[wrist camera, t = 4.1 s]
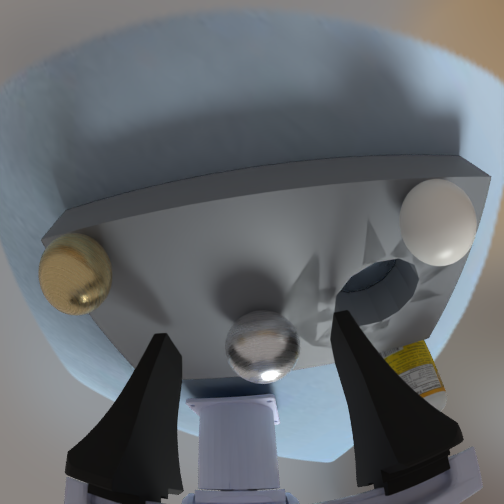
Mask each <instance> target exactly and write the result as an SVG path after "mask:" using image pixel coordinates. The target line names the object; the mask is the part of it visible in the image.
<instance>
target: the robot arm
mask: <svg viewBox="0 0 504 504" xmlns="http://www.w3.org/2000/svg"><path fill="white" fill-rule="evenodd" d="M330 341H331V346H332V352H333V357H334V361H335V364H336V368H337V371H338V374H339V377H340V381H341V384H342V387H343V391H344V394H345V397H346V401H347V405H348V409H349V414H350V420H351V426H352V433H353V441H354V449H355V460H356V477H357V479H356V480H357V486H358V487H362V486H369V485H372V484H374V489H373V490H370V491H367V492H363V493H360V494H356V495H352V496H348V497H344V498H340V499H335V500H330V501H325V502H320V503H314V504H459V503H461V502H462V501H464V500H465V499H467V498H468V497H470V496H471V495H473V494H474V493H476V492H477V491H479V490H480V489H481V488H482V487H483V484H482V479H481V474H480V469H479V465H478V460H477V456H476V452H475V448H474V447H473V446H472V447H470V448H468V449H466V450H464V451H462V452H460V453H458V454H455V455H453V456H450V457H448V455H450V451H449V449H450V448H452V447H454V446H456V445H458V444H460V443H461V442H462V441H463V440H464V439H463V436H462V432H461V429H460V427H459V425H458V423H457V422H456V421H454V420H452V419H451V418H449V417H448V416H446V415H445V414H443V413H442V412H440V411H439V410H438V409H436V408H435V407H434V406H432V405H431V404H430V403H429V402H427V401H426V400H425V399H424V398H423V397H421V396H420V395H419V394H418V393H417V392H415V391H414V390H413V389H412V388H411V387H410V386H409V385H408V384H407V383H406V382H405V381H404V380H403V379H402V378H401V377H400V376H399V375H398V374H397V373H396V372H395V371H394V370H393V369H392V368H391V366H390V365H389V364H388V363H387V362H386V361H385V360H384V358H383V357H382V356H381V355H380V353H379V352H378V351H377V350H376V348H375V347H374V346H373V345H372V343H371V342H370V341H369V339H368V338H367V337H366V335H365V334H364V332H363V331H362V330H361V328H360V327H359V325H358V324H357V322H356V321H355V319H354V318H353V316H352V315H351V313H350V311H348V310H344V311H339V312H334V313H333V321H332V329H331V336H330ZM181 384H182V355H181V354H180V352H179V351H178V349H177V348H176V346H175V345H174V343H173V342H172V340H171V339H170V337H169V336H168V334H167V333H156V334H154V335H153V337H152V339H151V341H150V342H149V344H148V346H147V348H146V350H145V352H144V354H143V356H142V357H141V359H140V361H139V363H138V365H137V367H136V368H135V370H134V372H133V374H132V376H131V377H130V379H129V381H128V382H127V384H126V385H125V387H124V389H123V390H122V392H121V394H120V395H119V397H118V398H117V399H116V401H115V402H114V404H113V405H112V407H111V408H110V409H109V411H108V412H107V413H106V414H105V416H104V417H103V418H102V419H101V421H100V422H99V423H98V424H97V425H96V426H95V427H94V428H93V429H92V430H91V431H90V433H88V435H87V436H86V437H84V438H83V439H82V440H81V441H80V442H79V443H78V444H77V445H76V446H74V447H73V448H72V449H71V450H69V451H68V454H67V461H66V468H65V473H66V474H67V475H68V476H71V477H73V478H75V479H72V478H69V477H67V478H66V488H65V501H64V504H164V503H161V498H164V499H168V494H177V495H179V494H181V493H182V492H183V491H184V490H183V485H182V480H181V474H180V467H179V458H178V442H177V419H178V409H179V401H180V392H181ZM186 404H187V405H188V406H189V407H190V408H191V409H192V410H193V411H194V412H195V413H196V414H197V415H198V416H199V417H200V425H199V460H198V462H199V463H198V488H199V489H207V490H221V491H203V490H202V491H201V490H195V494H194V493H189V494H188V495H187V496H186V497H184V498H183V500H182V503H181V504H299V501H298V500H297V498H296V497H294V496H293V495H292V494H291V493H289V492H286V493H285V489H279V490H266V491H257V490H265V489H275V488H280V482H279V470H278V458H277V447H276V436H275V425H277V424H280V418H279V414H278V409H277V405H276V400H275V396H274V395H273V394H263V395H253V396H240V397H225V398H190V399H186ZM76 479H78V480H80V481H78V480H76ZM81 481H83V482H81ZM85 482H86V483H85Z"/></svg>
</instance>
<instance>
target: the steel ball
mask: <svg viewBox="0 0 504 504" xmlns="http://www.w3.org/2000/svg"><path fill="white" fill-rule="evenodd" d="M225 353H226V358H227V361H228V363H229V365H230V366H231V368H232V369H233V370H234V372H235V373H236V374H238V375H239V376H240V377H242V378H243V379H245V380H247V381H249V382H253V383H259V384H267V383H272V382H275V381H278V380H280V379H282V378H284V377H285V376H286V375H288V374H289V373H290V372H291V371H292V369H293V368H294V367H295V365H296V363H297V361H298V359H299V355H300V339H299V335H298V333H297V330H296V329H295V327H294V326H293V324H292V323H291V322H290V321H289V320H288V319H287V318H285V317H284V316H282V315H280V314H278V313H276V312H272V311H266V310H260V311H253V312H250V313H248V314H246V315H244V316H242V317H241V318H239V319H238V320H237V321H236V322H235V323H234V324H233V325H232V327H231V328H230V330H229V332H228V334H227V337H226V341H225Z"/></svg>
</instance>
